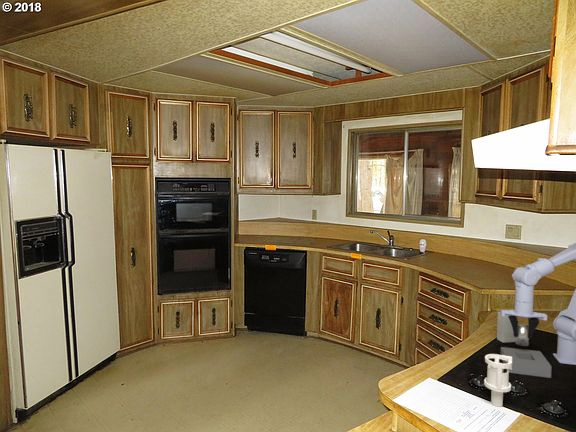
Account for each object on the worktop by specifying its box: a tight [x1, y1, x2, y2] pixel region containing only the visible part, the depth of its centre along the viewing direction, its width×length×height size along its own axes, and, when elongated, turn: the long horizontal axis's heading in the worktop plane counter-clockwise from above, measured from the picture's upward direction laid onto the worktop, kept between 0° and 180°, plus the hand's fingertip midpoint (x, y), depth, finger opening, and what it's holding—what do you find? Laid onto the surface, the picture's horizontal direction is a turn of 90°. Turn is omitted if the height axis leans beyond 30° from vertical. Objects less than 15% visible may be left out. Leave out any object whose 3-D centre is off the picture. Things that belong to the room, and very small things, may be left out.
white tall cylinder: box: [483, 353, 512, 408], centre depth 117 cm, size 7×7×15 cm
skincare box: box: [496, 311, 518, 343], centre depth 166 cm, size 6×4×12 cm
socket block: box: [500, 346, 552, 379], centre depth 142 cm, size 13×13×4 cm
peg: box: [515, 323, 530, 347], centre depth 145 cm, size 4×4×7 cm
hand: (522, 337), depth 145 cm, fingers closed on peg, 4 cm apart
